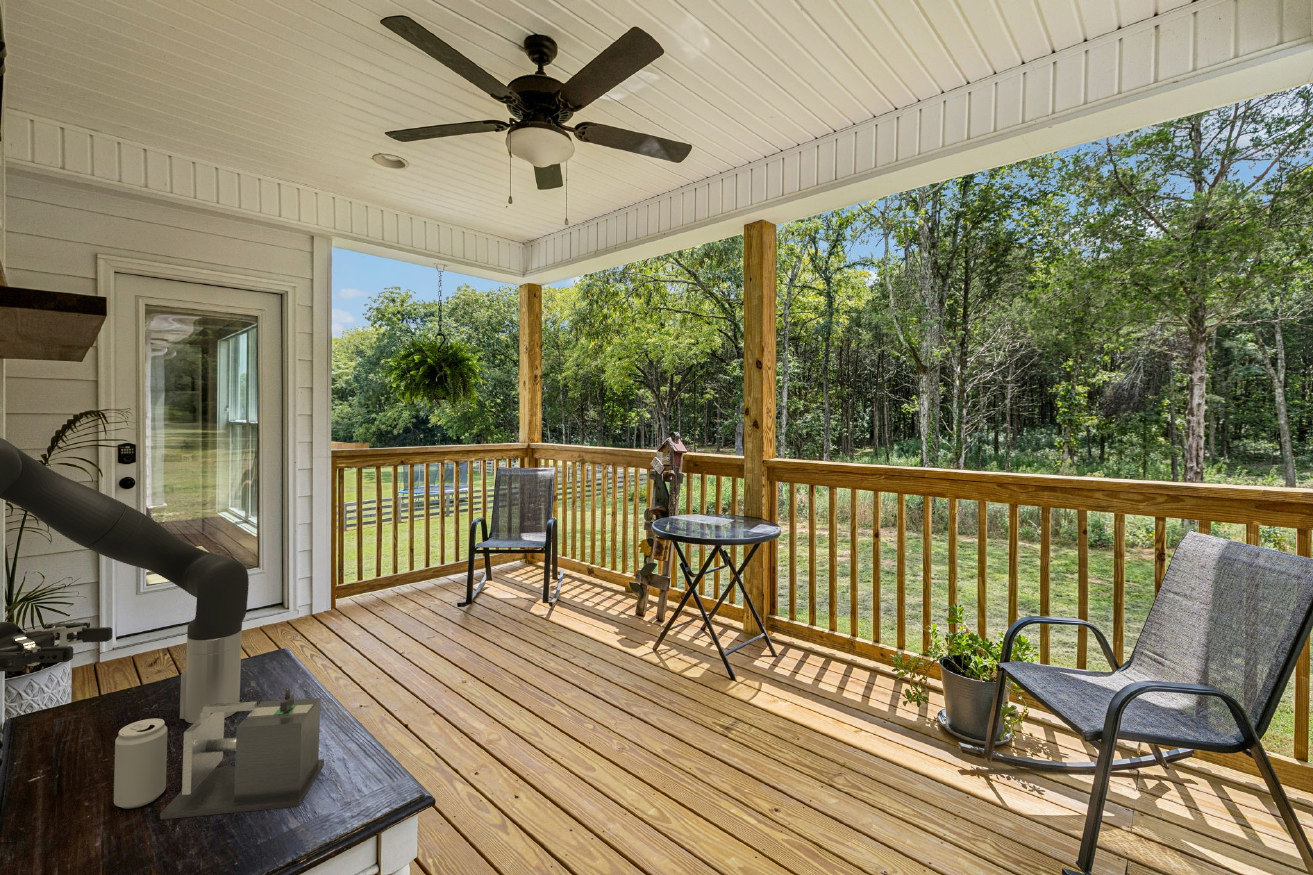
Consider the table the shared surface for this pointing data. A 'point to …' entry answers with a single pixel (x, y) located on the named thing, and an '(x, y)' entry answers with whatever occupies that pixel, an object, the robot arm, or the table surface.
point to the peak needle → (287, 701)
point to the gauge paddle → (207, 743)
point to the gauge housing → (261, 764)
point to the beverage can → (140, 763)
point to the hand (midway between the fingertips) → (92, 643)
